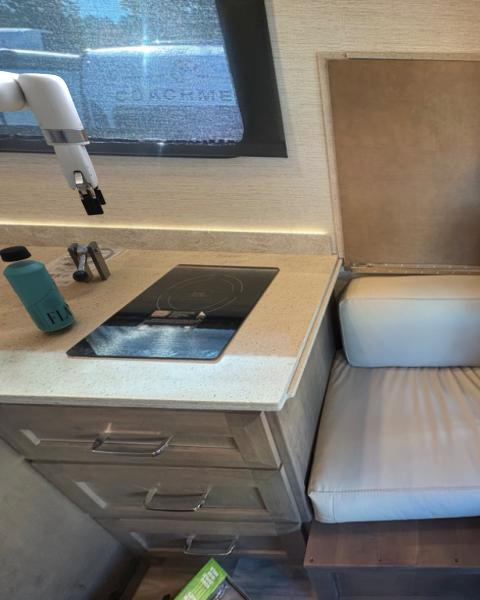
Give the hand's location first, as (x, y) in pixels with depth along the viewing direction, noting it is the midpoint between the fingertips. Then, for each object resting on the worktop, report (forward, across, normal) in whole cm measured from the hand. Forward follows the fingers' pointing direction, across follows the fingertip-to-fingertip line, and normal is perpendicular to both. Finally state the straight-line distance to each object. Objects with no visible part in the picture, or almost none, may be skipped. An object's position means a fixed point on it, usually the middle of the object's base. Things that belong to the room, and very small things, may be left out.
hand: (97, 209), depth 86 cm
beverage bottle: (+21, +20, -13) cm, 32 cm away
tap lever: (+14, +2, -7) cm, 16 cm away
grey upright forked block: (+21, -2, -7) cm, 22 cm away
